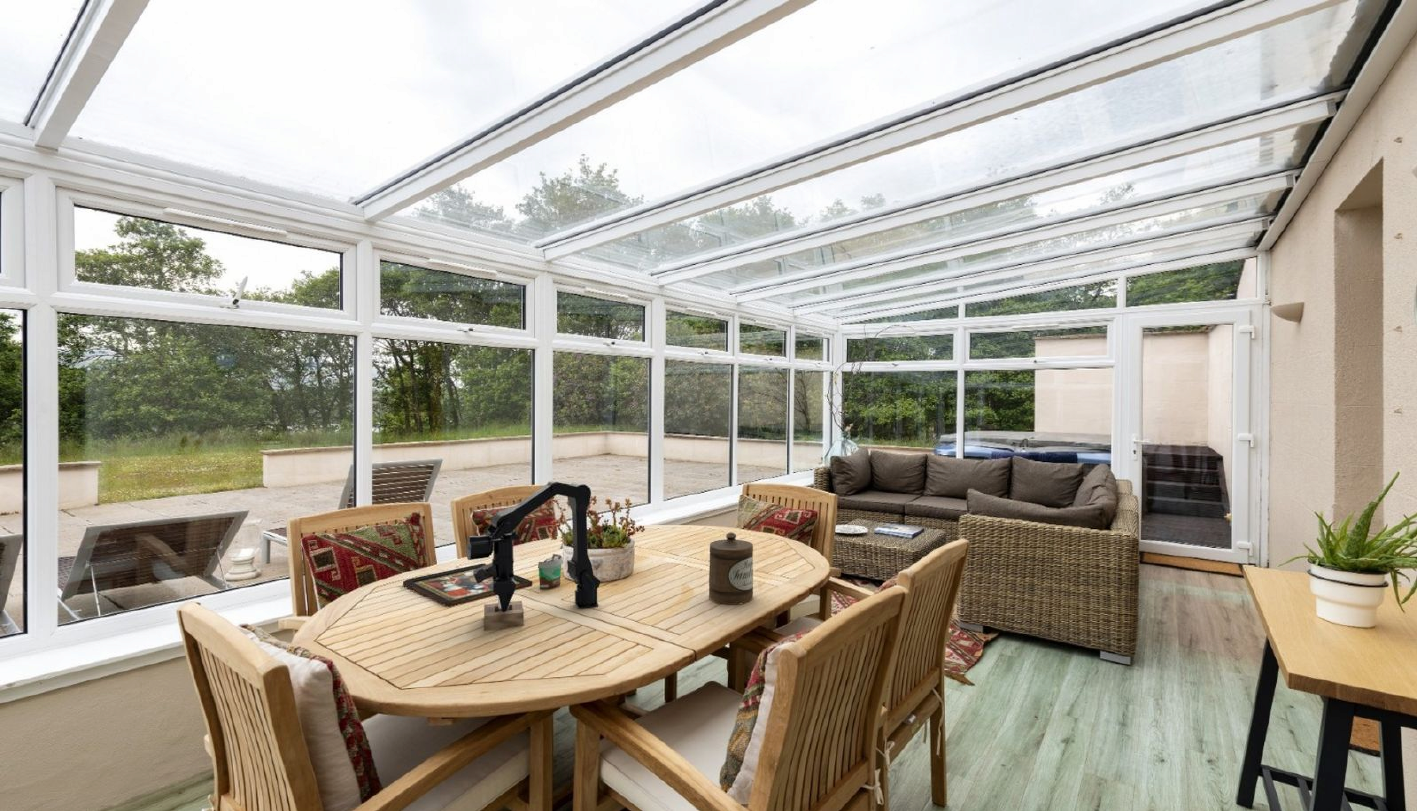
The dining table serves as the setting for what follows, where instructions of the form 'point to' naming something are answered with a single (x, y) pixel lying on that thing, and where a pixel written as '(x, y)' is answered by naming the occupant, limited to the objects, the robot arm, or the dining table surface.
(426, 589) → the framed icon painting
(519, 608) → the square hollow frame
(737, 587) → the wooden container
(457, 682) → the dining table surface
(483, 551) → the robot arm
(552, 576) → the food container
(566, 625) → the dining table surface
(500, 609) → the cylinder
